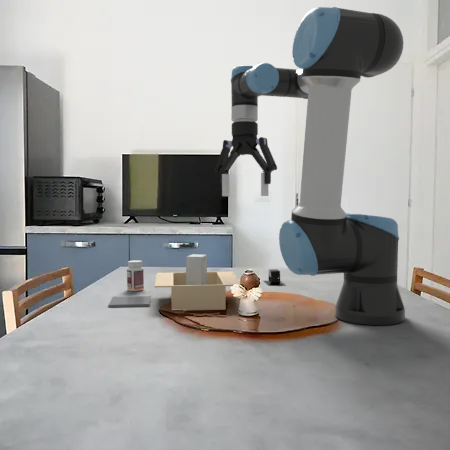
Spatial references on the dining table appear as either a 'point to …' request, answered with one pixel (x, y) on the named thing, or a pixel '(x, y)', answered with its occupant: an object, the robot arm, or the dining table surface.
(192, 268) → the skincare box
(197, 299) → the carton
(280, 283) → the black boxy piece
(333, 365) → the dining table surface
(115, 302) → the coaster
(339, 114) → the robot arm
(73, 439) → the dining table surface
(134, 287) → the pill bottle
